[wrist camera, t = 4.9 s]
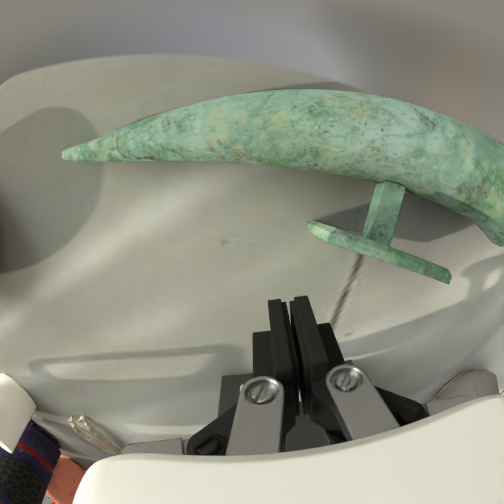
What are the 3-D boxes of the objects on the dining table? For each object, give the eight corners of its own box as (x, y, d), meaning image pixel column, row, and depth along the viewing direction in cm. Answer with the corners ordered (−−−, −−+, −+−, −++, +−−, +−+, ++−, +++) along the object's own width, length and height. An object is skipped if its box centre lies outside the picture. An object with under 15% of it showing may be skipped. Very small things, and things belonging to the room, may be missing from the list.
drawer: (211, 339, 19) (195, 430, 12) (355, 321, 19) (395, 403, 11) (244, 444, 25) (243, 504, 18) (337, 433, 25) (351, 491, 18)
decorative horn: (22, 161, 10) (521, 312, 10) (94, -4, 8) (549, 151, 8) (88, 170, 17) (464, 284, 17) (136, 41, 15) (492, 159, 15)
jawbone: (67, 416, 27) (63, 426, 25) (85, 413, 26) (80, 425, 24) (148, 469, 33) (147, 478, 32) (169, 468, 33) (167, 478, 31)
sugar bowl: (46, 447, 32) (46, 446, 37) (31, 498, 20) (33, 491, 26) (99, 473, 35) (92, 470, 41) (87, 523, 24) (81, 514, 29)
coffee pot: (457, 411, 27) (492, 481, 13) (401, 425, 27) (434, 515, 13) (531, 288, 19) (602, 355, 6) (487, 283, 19) (583, 380, 5)
